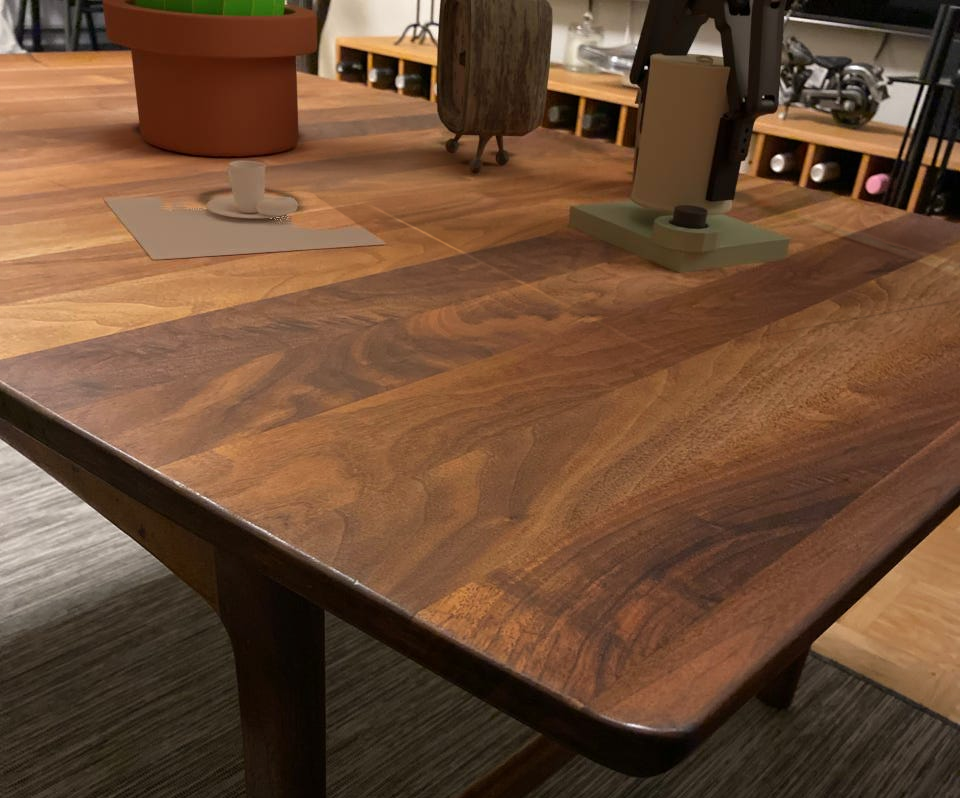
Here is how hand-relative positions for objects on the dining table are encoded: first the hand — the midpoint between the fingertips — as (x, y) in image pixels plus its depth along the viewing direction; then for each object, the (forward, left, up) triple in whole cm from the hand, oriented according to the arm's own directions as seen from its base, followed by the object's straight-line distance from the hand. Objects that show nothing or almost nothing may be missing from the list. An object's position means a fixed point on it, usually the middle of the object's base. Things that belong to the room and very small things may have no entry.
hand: (683, 187), depth 93 cm
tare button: (-6, +4, -2) cm, 8 cm away
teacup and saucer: (+19, +35, -5) cm, 40 cm away
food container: (+16, -15, -5) cm, 22 cm away
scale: (0, 0, -5) cm, 5 cm away
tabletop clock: (+34, -1, -5) cm, 34 cm away
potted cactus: (+52, +24, -5) cm, 57 cm away
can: (0, 0, -2) cm, 2 cm away
